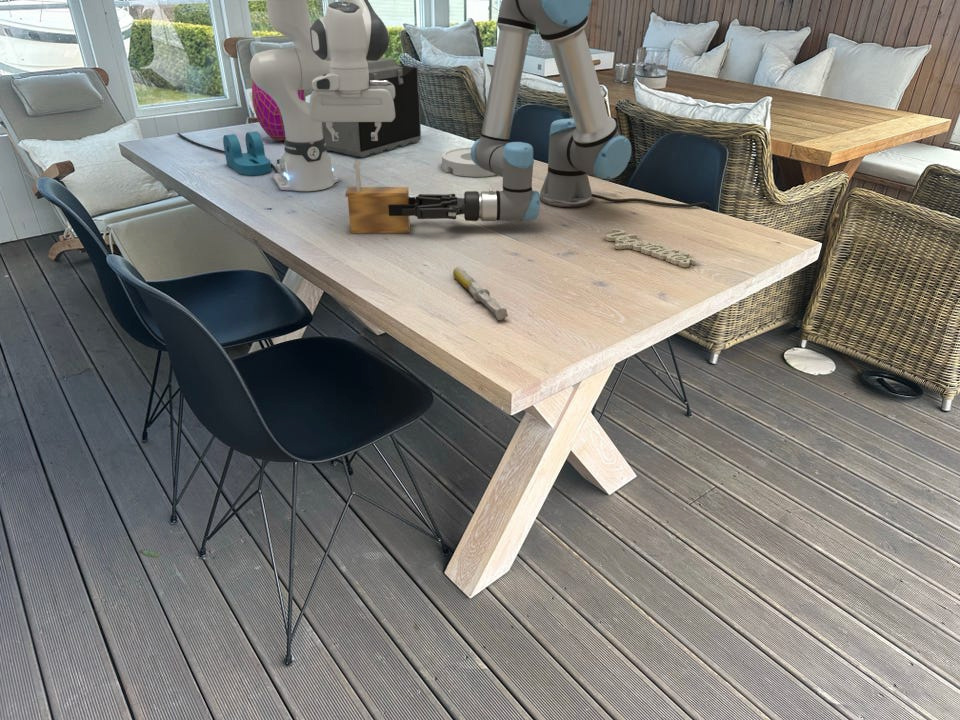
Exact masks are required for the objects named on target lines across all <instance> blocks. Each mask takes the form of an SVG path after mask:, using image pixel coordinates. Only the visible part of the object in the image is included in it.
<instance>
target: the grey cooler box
mask: <svg viewBox="0 0 960 720" xmlns="http://www.w3.org/2000/svg"><path fill="white" fill-rule="evenodd" d="M367 63H368V70H369V80H378V81H383V80H387V81H388V82H390V83H392V84H393V85H394V87H395V98H394V100H393V101H394V107H395V119H394V120H393V121H392V122H381V127H380V129H379V131H378V133H377V134H378V141H371V138H372V137H371V132H375V130H376V128H377V127H376V126H375V122H333V125H332V128H333V129H334V131H335V132H339V141H332V134H331V133H330V131H329V130H328V129H327V127H326V122H322V130H323V137H324V138H325V142H326V150H325V151H330V152H335V153H340V154H344V155H348V156H353V157H357V158H362V159H363V158H366V157H367V158H368V157H369V155H371V154H375V155H377V154H381V153H382V152H383V151H391V150H395V149H396V148H397V147H405V146H407V145H408V144H416V143H418V142H419V141H421V137H422V128H421V97H420V92H419V91H420V89H419V68H418V67H417V66H408V65H400V64H396V62H395V60H394V59H393V58H385V57H381V58H380V59H379V60H377V61H369V60H367ZM388 85H390V84H388Z"/></svg>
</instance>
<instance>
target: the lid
mask: <svg viewBox="0 0 960 720" xmlns="http://www.w3.org/2000/svg"><path fill="white" fill-rule="evenodd" d="M361 165H362V162H361V160H359V159H356V160H354V162H353V165H352V168H353V169H354V171H355V184H356V186H347V188H346V190H345V193H344V197H345V198H346V197H347V198H348V197H402V196H408V191H409V186H362V182H361V169H360V168H361Z"/></svg>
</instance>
